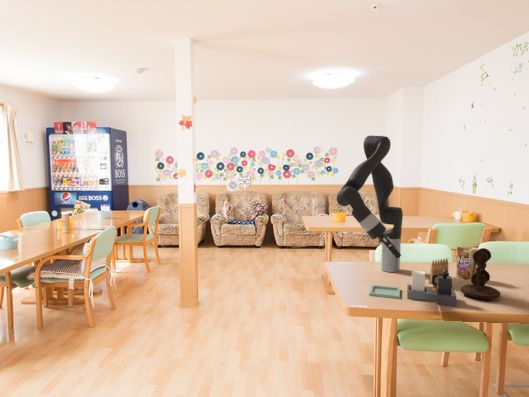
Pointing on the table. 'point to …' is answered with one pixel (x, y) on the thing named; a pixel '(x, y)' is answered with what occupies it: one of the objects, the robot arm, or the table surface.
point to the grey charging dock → (436, 292)
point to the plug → (418, 281)
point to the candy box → (465, 262)
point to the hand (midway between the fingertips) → (397, 255)
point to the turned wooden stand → (480, 278)
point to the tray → (385, 291)
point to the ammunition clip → (437, 270)
